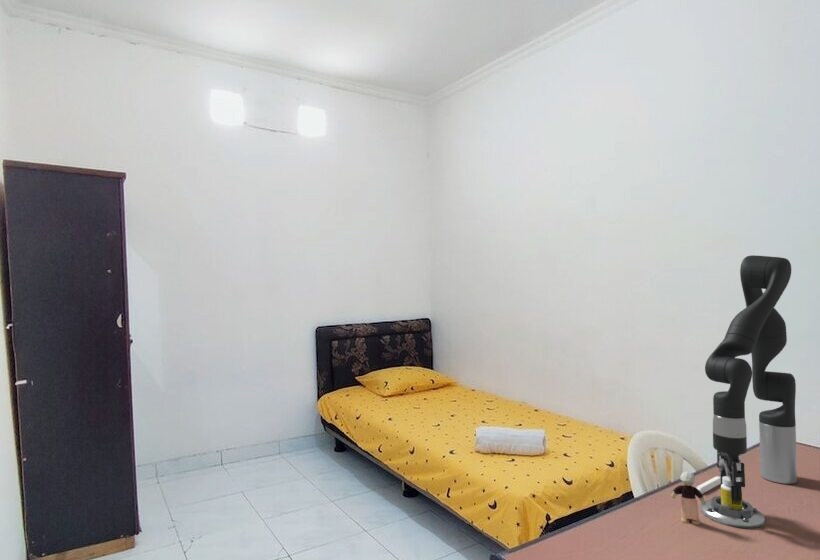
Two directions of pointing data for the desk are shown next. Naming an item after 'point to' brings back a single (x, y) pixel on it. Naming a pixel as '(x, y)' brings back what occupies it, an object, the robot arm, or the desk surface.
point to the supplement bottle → (728, 495)
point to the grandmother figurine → (688, 498)
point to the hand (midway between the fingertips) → (730, 493)
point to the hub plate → (732, 521)
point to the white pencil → (709, 484)
